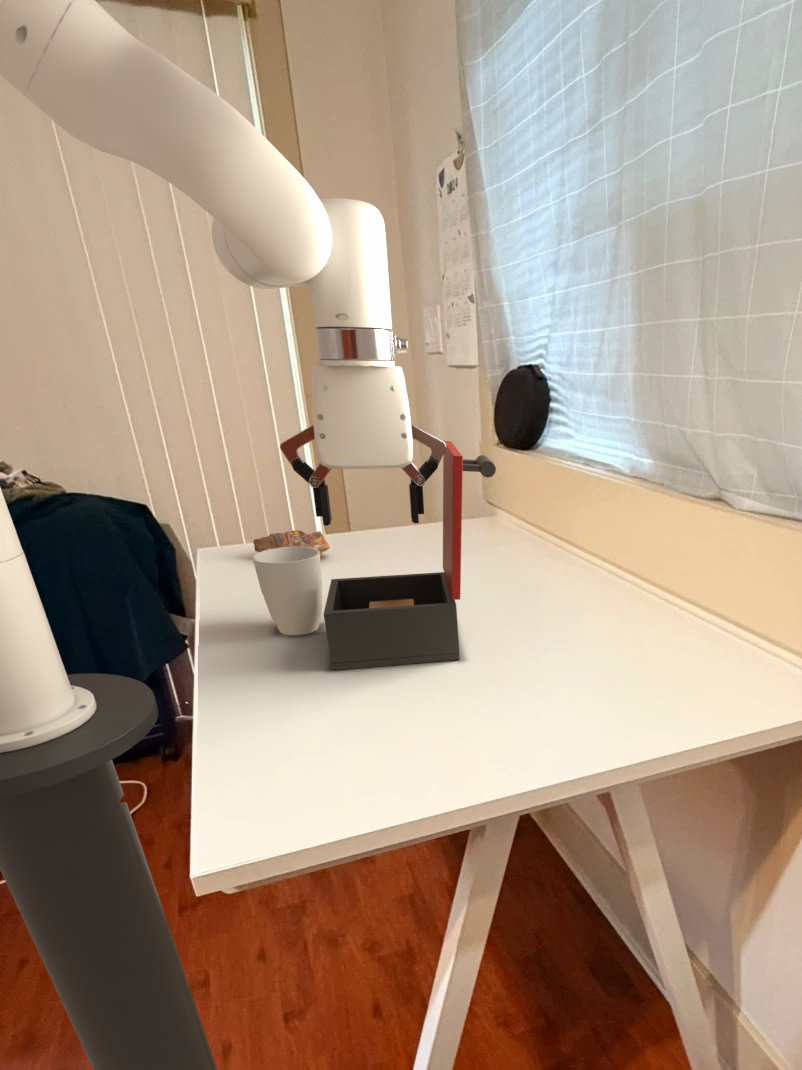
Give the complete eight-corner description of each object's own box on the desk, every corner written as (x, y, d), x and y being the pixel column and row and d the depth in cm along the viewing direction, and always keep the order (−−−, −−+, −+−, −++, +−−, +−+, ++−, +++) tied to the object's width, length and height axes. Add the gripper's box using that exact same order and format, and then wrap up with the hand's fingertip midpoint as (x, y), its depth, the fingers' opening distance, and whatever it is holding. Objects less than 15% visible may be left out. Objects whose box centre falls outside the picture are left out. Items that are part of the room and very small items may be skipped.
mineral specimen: (262, 562, 118) (251, 523, 118) (261, 575, 125) (251, 539, 125) (334, 552, 123) (324, 514, 123) (329, 566, 130) (319, 530, 130)
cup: (300, 615, 99) (288, 543, 94) (343, 624, 96) (332, 551, 91) (254, 633, 93) (238, 557, 88) (298, 643, 89) (284, 566, 85)
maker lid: (453, 455, 74) (502, 457, 75) (443, 440, 86) (485, 443, 87) (451, 599, 81) (496, 600, 82) (442, 567, 93) (481, 568, 94)
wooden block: (372, 647, 86) (368, 615, 84) (373, 631, 90) (369, 601, 89) (418, 643, 87) (415, 612, 85) (416, 628, 91) (413, 598, 90)
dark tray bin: (332, 670, 82) (323, 613, 79) (338, 629, 94) (331, 579, 91) (460, 659, 84) (456, 604, 81) (450, 621, 96) (446, 571, 93)
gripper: (438, 352, 77) (446, 514, 84) (271, 349, 73) (295, 517, 81) (444, 351, 70) (451, 526, 78) (261, 348, 67) (287, 531, 74)
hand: (371, 522), depth 79 cm, fingers open, 9 cm apart
